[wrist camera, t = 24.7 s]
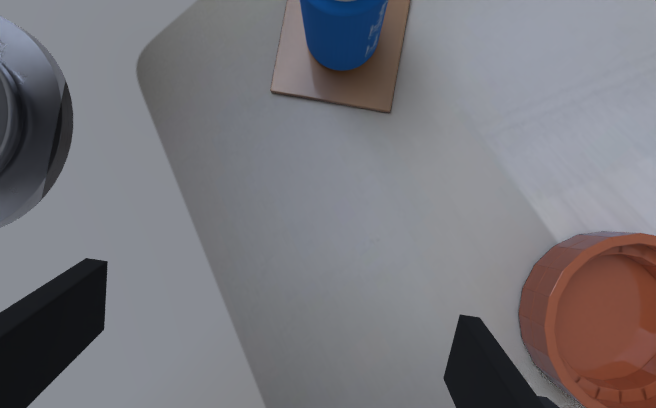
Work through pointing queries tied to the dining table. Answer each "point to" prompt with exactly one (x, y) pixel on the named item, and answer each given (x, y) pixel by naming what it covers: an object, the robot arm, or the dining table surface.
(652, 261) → the bowl
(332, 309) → the dining table surface
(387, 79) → the cork mat
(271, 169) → the dining table surface
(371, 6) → the beverage can
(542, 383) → the dining table surface
